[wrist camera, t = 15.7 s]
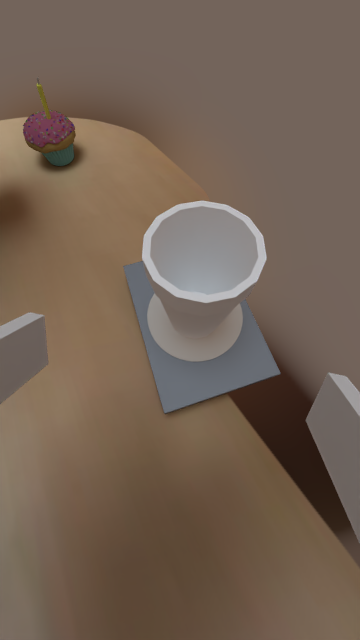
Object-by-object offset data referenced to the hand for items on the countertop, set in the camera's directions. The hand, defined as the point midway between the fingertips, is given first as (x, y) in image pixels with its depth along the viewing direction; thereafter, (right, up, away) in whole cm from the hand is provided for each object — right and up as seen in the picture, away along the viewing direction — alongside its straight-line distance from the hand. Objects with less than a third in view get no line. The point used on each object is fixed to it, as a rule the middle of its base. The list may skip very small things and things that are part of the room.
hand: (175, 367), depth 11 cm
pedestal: (+2, +2, +22) cm, 22 cm away
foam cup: (+2, +3, +19) cm, 20 cm away
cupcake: (-23, +33, +35) cm, 53 cm away
